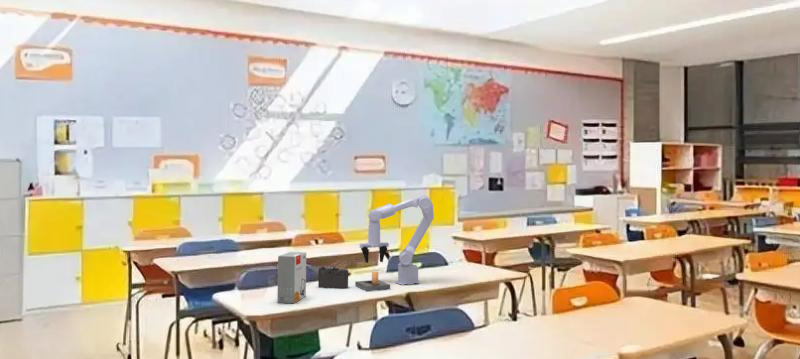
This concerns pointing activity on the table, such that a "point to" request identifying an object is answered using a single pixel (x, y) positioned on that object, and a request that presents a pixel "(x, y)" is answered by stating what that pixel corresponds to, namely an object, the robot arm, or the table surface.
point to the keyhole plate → (369, 287)
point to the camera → (333, 278)
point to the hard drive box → (291, 277)
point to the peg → (374, 278)
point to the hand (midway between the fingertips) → (374, 262)
